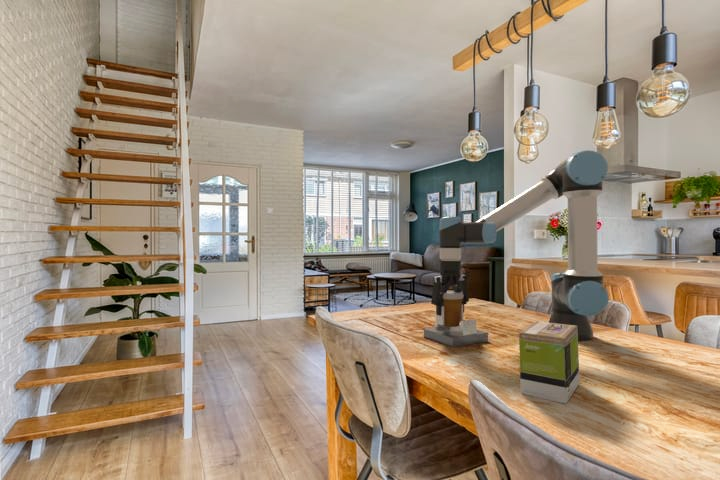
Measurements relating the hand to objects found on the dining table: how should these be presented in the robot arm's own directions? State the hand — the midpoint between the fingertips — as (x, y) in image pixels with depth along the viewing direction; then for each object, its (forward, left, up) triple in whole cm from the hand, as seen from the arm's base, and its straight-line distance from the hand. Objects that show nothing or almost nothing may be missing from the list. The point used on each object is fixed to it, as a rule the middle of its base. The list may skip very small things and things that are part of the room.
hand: (450, 323), depth 139 cm
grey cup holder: (0, -2, -6) cm, 6 cm away
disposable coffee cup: (0, 0, -1) cm, 1 cm away
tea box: (-47, +10, -6) cm, 49 cm away
